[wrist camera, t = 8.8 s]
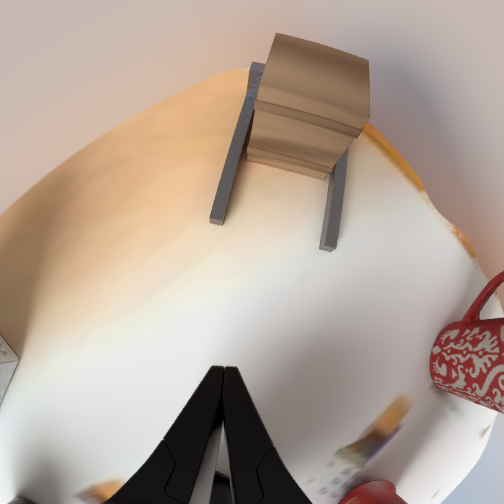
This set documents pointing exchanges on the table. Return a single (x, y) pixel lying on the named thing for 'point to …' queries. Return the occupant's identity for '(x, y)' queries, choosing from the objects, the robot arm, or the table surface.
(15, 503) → the supplement bottle
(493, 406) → the mug
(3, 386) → the tea box
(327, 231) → the bay
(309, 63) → the chest
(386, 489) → the liquor
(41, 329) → the table surface
